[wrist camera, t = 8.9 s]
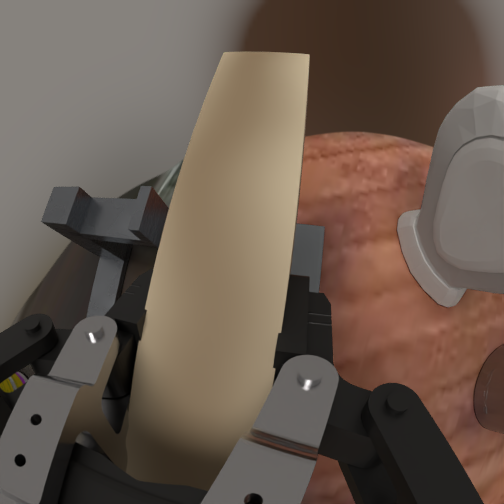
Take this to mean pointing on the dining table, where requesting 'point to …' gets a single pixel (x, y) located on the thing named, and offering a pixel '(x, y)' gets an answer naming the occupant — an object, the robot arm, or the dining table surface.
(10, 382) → the supplement bottle
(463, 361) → the dining table surface
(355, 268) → the dining table surface
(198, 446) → the rail
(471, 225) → the soap bottle
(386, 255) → the dining table surface
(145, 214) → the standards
